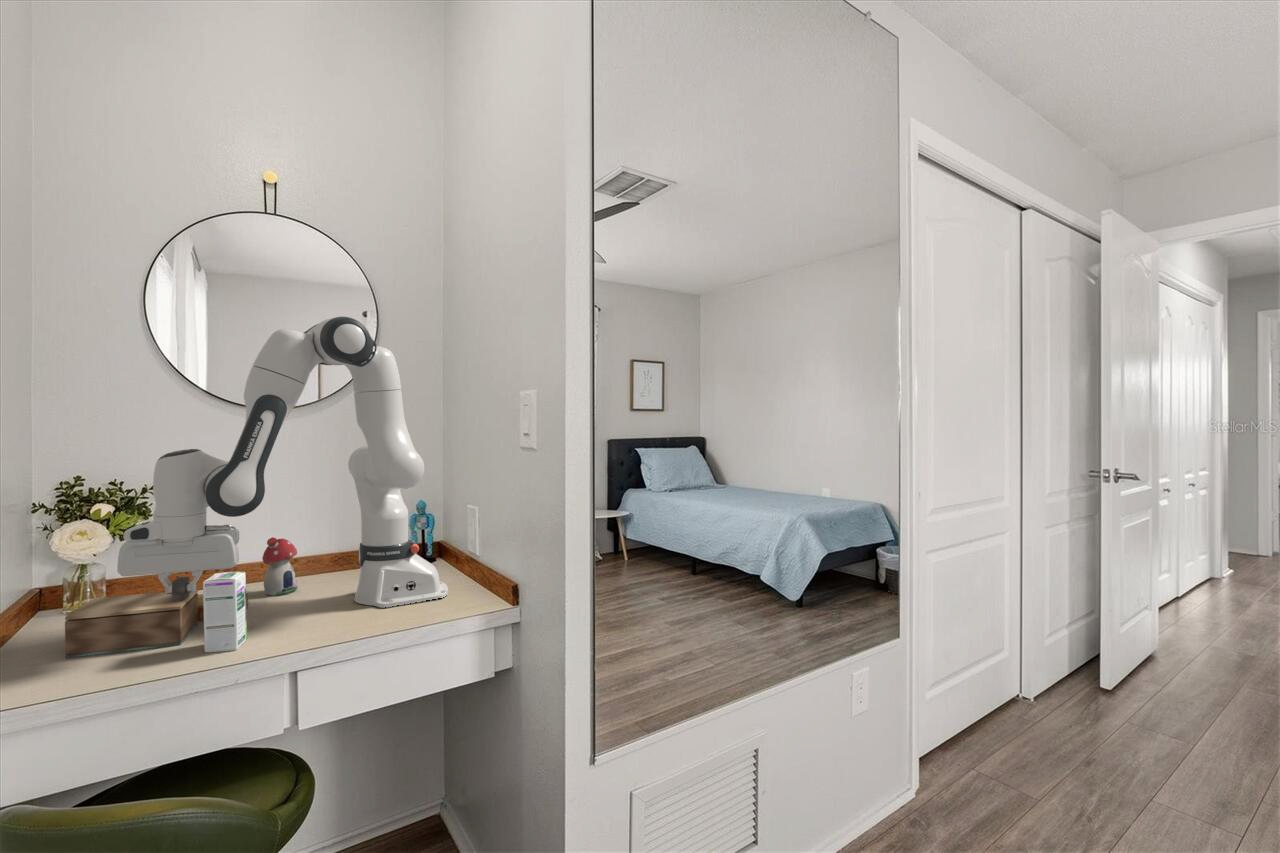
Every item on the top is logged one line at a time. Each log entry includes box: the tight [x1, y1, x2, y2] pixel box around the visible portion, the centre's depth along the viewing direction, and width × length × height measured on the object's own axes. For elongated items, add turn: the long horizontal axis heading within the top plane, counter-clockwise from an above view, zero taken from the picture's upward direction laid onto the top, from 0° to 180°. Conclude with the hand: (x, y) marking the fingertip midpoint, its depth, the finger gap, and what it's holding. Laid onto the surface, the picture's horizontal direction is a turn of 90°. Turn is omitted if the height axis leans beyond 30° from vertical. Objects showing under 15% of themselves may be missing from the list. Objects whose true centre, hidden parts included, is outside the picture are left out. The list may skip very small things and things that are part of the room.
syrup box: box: [202, 571, 248, 653], centre depth 120 cm, size 6×6×14 cm
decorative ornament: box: [262, 537, 299, 597], centre depth 155 cm, size 9×7×15 cm
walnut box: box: [64, 592, 199, 659], centre depth 123 cm, size 18×12×7 cm, turn 113°
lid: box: [64, 576, 199, 621], centre depth 123 cm, size 18×12×5 cm, turn 113°
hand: (180, 592), depth 126 cm, fingers closed on lid, 2 cm apart
